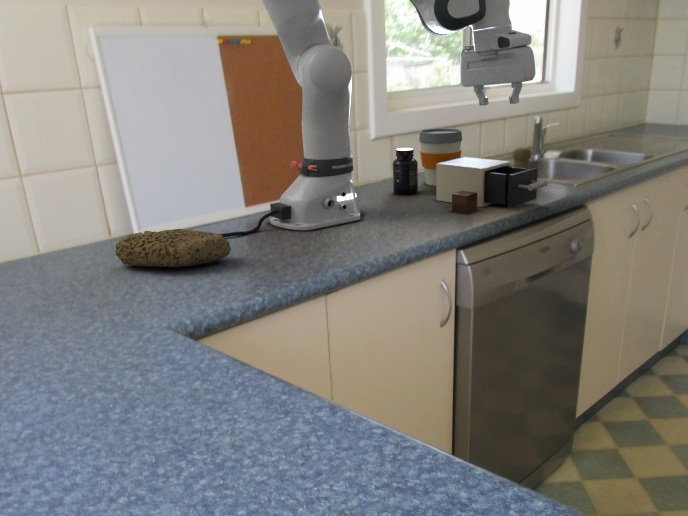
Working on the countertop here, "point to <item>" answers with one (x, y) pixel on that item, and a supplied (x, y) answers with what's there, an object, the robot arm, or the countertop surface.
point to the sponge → (171, 248)
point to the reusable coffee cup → (438, 149)
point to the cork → (521, 157)
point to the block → (464, 202)
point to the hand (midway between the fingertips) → (498, 104)
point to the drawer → (511, 185)
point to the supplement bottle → (405, 172)
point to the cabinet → (464, 177)
